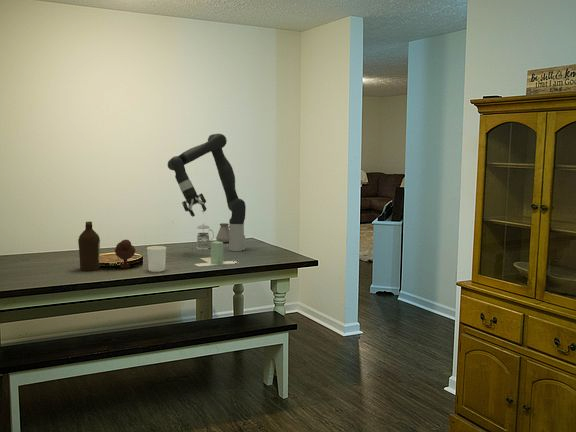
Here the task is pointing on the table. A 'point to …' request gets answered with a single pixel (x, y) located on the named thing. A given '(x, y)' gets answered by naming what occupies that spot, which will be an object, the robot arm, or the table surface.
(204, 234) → the french press
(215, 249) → the green block
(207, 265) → the T mat
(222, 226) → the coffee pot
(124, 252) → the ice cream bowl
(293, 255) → the table surface
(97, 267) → the olive oil
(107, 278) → the table surface
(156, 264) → the candle holder
